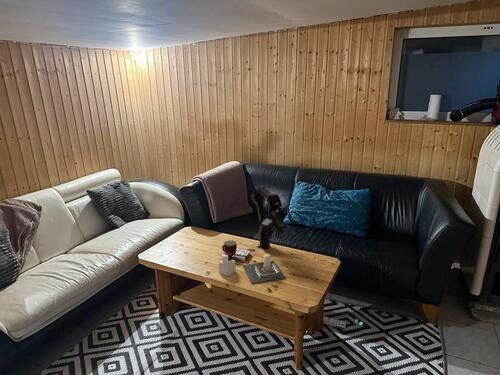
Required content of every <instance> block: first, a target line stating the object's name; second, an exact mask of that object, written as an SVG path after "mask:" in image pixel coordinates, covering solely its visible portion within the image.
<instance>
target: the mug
mask: <svg viewBox="0 0 500 375" xmlns="http://www.w3.org/2000/svg"><path fill="white" fill-rule="evenodd" d="M237 243H238V242H237V241H236V240H232V239H231V240H225V241H224V242H223V245H222V246H221V247H222V248H221V249H222V251H223V253H225V252H229V253H231V254H232V256H233V255H234V254H235V253H236V254H237V248H238V244H237ZM236 254H235V255H236Z"/></svg>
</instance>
